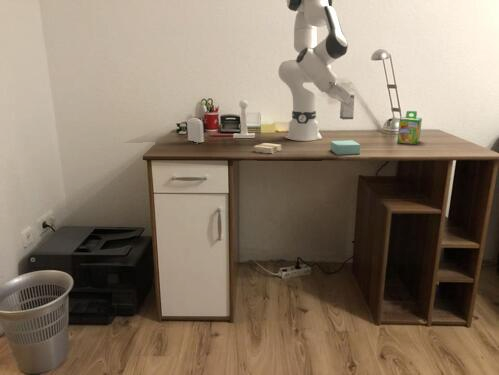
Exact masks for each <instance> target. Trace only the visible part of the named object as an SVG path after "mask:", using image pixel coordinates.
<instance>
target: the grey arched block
mask: <svg viewBox="0 0 499 375" xmlns="http://www.w3.org/2000/svg"><path fill="white" fill-rule="evenodd" d="M186 125H187V126H186V128H187V141H188V140H190V141H194V142H205V139H204V138H205V137H204V136H205V135H204V122H203V121H202V120H201V119H200V118H197V117H190V118H189V119H187V122H186Z"/></svg>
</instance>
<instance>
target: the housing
mask: <svg viewBox="0 0 499 375" xmlns="http://www.w3.org/2000/svg"><path fill="white" fill-rule="evenodd" d="M350 95H351V97H350V98H349V100H350V102H351V103H352V106H351V107H349V106H347V105H346V103H345V102H344V101H341V102H340V112H339V118H340V119H341V120H354V112H355V109H354V108H355V94H351V93H350Z"/></svg>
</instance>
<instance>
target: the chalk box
mask: <svg viewBox="0 0 499 375" xmlns="http://www.w3.org/2000/svg"><path fill="white" fill-rule="evenodd" d="M411 114H413V115H412V116H410V115H411ZM417 114H418V112H417V111H416V110H407V111H406V114H405V116H402V117H401V118H399V121H398V123H399V124H398V130H397V131H398V132H397V139H396V140H397V144H408V145H418V144H419V142H420V140H421V139H420V138H421V129H422V122H423V121H422V120H423V118H422V117H417V116H418V115H417Z"/></svg>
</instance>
